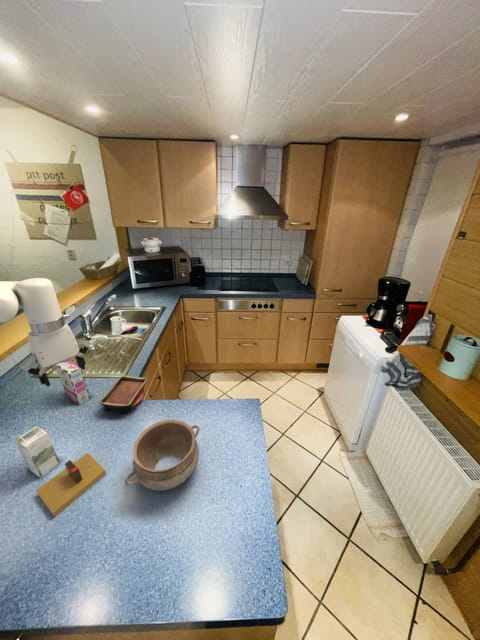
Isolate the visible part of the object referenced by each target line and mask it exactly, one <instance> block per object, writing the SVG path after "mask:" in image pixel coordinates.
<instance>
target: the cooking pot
mask: <svg viewBox="0 0 480 640" xmlns="http://www.w3.org/2000/svg"><path fill="white" fill-rule="evenodd" d="M194 429H196V431H194ZM200 430H201V429H200V425H197V424H194V425H191V426H190V425H189V424H188V423H187V422H185V421H183V420H180V419H164V420H160V421H157V422H155V423H153V424H151V425H149V426H148V427H146V428H145V429H144V430H143V431H141V433H140V434H139V435H138V436H137V438H136V440H135V441H134V444H133V447H132V457H133V460H132V468H133V469H132V471H131V472H130V473H128V475H127V476H126V477H125V479H124V483H125V485H126V486H128V487H132V486H133V487H134V486H137V485H141V486H143V487H145V488H147V489H149V490H152V491H159V492H160V491H161V492H162V491H168V490H172V489H174V488H177V487H178V486H180V485H181V484H183V483H184V482H185V481H187V480H188V478H189V477H190V476H191V475H192V473H193V472H194V470H195V469H196V466H197V464H198V460H199V455H200V451H199V450H200V449H199V444H198V441H197V439H196V438H197V437H198V435H199V433H200ZM168 456H175V457H178V458H180V459H181V460H180V461H179V462H177V463H176V464H175V465H172V466H169V467H167V468H162V469H155V468H156V467H157V464H158V462H160V461H161V460H162V459H163V458H165V457H168ZM133 476H135V478H136V480H134V481H130V478H131V477H133Z"/></svg>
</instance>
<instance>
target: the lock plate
mask: <svg viewBox="0 0 480 640" xmlns="http://www.w3.org/2000/svg"><path fill="white" fill-rule="evenodd" d="M72 463H73V464H74V465H75V466H76V467H77V468H78V469H79V471H80V474H81V476H82V480H81V481H80V482H79V483H78V484H77V483H76V482H75V481H74V480H73V478H72V477H71V476H70V475H69V474H68V471H67V469H66V468H65V469H63V470H62V471H61V472H59V473H58V474H57V475H55V476H54V477H52V478H51V479H49V481H47V482H46V483H44V484H43V485H41V486H40V487H39V488H37V489H36V493H37V495H38V496H39V497H40V499H41V500H42V502H43V503H44V505H45V506H46V508H47V509H48V511H49V512H50V513H51V514H52V516H53V517H54V518H56V517H57V516H59V514H61V513H62V512H63V511H64V510H66V508H68V507H69V506H70V505H72V503H74V502H75V501H77V499H79V498H80V497H81V496H82V495H84V494H85V493H86V492H87V491H88V490H90V489H91V488H92V487H93V486H94V485H95V484H97V483H98V482H99V481H100V480H101V479H102V478H104V477H105V476H106V475H107V471H106V469H105V468H104V466H102V465H101V464H100V463H99V462H97V460H96V459H95V458H94V457H93V456H92V455H91V454H89V453H88V452H87V453H85V454H84V455H83V456H81V457H79V459H77V460H76V461H74V462H72Z"/></svg>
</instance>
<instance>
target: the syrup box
mask: <svg viewBox="0 0 480 640" xmlns="http://www.w3.org/2000/svg"><path fill="white" fill-rule="evenodd" d="M14 441H15V443H16V446H17V447H18V450H19V451H20V454H21V455H22V457H23V459H24V461H25V463H26V466H27V467H28V469H29V471H31V473H33V474H34V475H36V476H37V477H39V478H43V477H44V475H46V474H48V473H49V472H50V471H51V470H53V469H54V468H55V467H56V466H58V464H59V463H60V459H59V456H58V454H57V452H56V450H55V447H54V445H53V443H52V440H51V437H50V435H49V432H47V431H45V430H44V429H42V428H41V427H40V426H38V425H34V426H33V427H32V428H31V429H29V430H28V431H26V432H25V433H23V434H21V435H20V436H18V437H17V438H15V439H14Z"/></svg>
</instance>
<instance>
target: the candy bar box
mask: <svg viewBox="0 0 480 640" xmlns="http://www.w3.org/2000/svg"><path fill="white" fill-rule="evenodd" d="M55 366H56V370H57V372H58V375H59V378H60V380H61V384H62V387H63V389H64V393H65V396H66V397H67V398H68V399H70V400H71V401H73V402H75V403H76V404H77V405H81V404H83V403H85V402H87V401H89V400H90V399H91V397H90V393H89V390H88V386H87V382H86V379H85V376H84V372H83V369H81V368H80V367H78V364H77V363H74V362H72V361H71V360H70V359H66V360H63V361H61V362H59V363H56V364H55Z"/></svg>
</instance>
